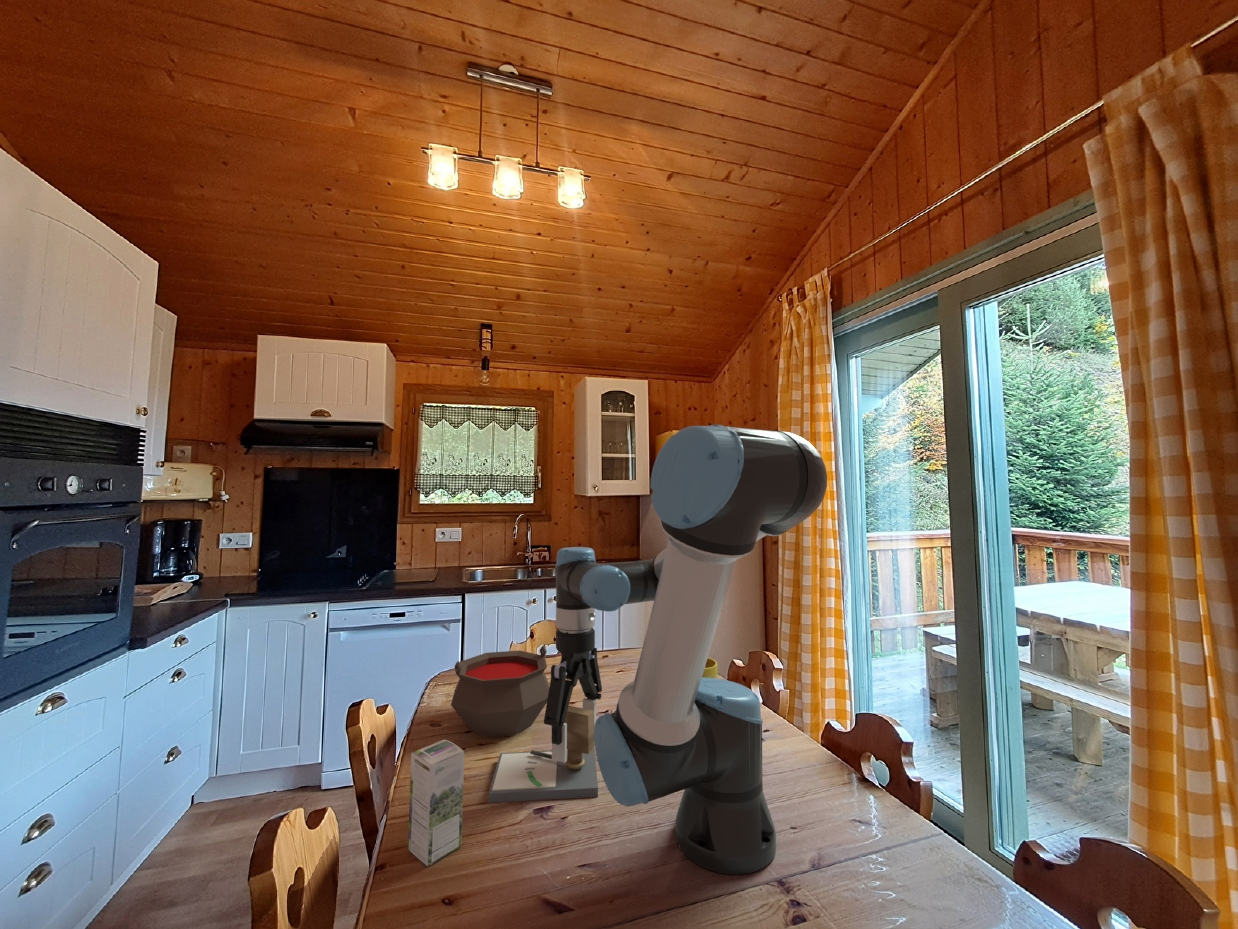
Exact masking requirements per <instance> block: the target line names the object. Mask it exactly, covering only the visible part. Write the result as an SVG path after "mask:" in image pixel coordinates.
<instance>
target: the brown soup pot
mask: <svg viewBox="0 0 1238 929" xmlns="http://www.w3.org/2000/svg"><path fill="white" fill-rule="evenodd" d="M547 652H548V651H547V649H546V646H545V645H544V644H543V645H542V646H541V647H540V649H539V653H540V654H539V653H538V654H537V653H533V652H528V651H525V650H520V649H519V650H508V651H507V650H506V651H495V652H494V651H493V652H484V653H481V654H479V655H475V656H473V657H469V658H467V659H463V660H461V661H459V660H458V661H457V662H456V663H455V665H454V667H453V668H454V671H455V674H456V676H457V677H458V678H459V679H458V681H457V683H456V686H455V689H454V692H453V696H452V699H451V703H450V707H452V709H454V711H455V712H456V713H457V714H458V716H459V717H460V719H461V720H462V721H463V722H464V724H465V725H466V726H467V728H468V729H469V730H470V732H471V733H474V734H477V735H480V736H482V737H485V738H487V739H494V738H505V737H513V736H516V735H518V734H520V733H522V732H523V731H525V730H527V729H529V728H530V727H532V725H534V723H535V721H536V720H537V718H538V717H539V715H540V714H541V712H542V710H543V709H544V707H545V706H546V705H547V699H548V693H549V687H550V683H549V681H548V678H547V675H546V674H545V671H546V669H547V668H548V664H547V660H546V654H547Z"/></svg>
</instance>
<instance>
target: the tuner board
mask: <svg viewBox="0 0 1238 929" xmlns="http://www.w3.org/2000/svg"><path fill="white" fill-rule="evenodd" d="M537 751H538V752H542V753H546V754H550V755H552V750H537ZM530 752H531V751H520V752H519V751H517V752H500V753H499V756H498V759H497V762H496V763H497V764H496V766H495V770H494V773H493V776H492V777H493V778H492V780H491V784H490V787H489V791H488V797H487V798H488V803H489V804H492V803H493V804H494V803H506V802H507V803H509V802H524V801H528V802H529V801H543V800H544V801H545V800H558V799H559V800H561V799H563V800H564V799H577V798H578V799H579V798H582V799H583V798H595V797H597V798H598V797H599V784H598V773H597V772H598V771H597V762H596V759H597V758H596V750H595V748H594V749H593V750H592V751H591V752H590V753H589V754H584V753H582V757H583V758H584V760H585V764H584V766H583V767H581V768H579V769H570V768H568V767H566V763H563V762H559V761H555V760H552V759H549V758H545V757H541V756H537V755H533V754H530ZM567 758H568V749H567Z"/></svg>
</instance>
